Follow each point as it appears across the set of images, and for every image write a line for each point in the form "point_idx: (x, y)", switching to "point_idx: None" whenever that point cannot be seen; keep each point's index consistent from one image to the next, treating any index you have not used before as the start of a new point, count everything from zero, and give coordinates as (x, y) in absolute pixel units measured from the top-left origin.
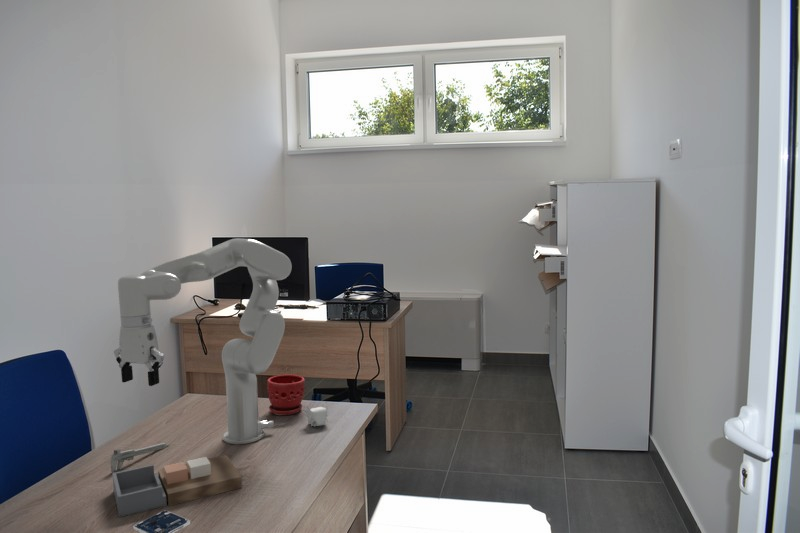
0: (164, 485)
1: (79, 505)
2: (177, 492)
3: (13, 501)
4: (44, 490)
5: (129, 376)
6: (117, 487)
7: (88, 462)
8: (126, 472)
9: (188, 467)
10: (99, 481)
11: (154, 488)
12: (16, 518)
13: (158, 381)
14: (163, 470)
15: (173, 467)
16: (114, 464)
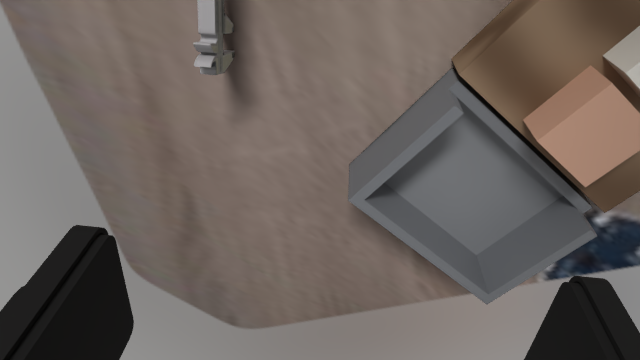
0: (559, 169)
1: (318, 241)
2: (631, 194)
3: (132, 262)
4: (141, 205)
5: (99, 312)
6: (444, 267)
7: (46, 4)
8: (388, 176)
9: (636, 88)
10: (242, 121)
11: (575, 248)
12: (227, 309)
13: (606, 298)
14: (486, 73)
15: (589, 141)
16: (226, 63)
